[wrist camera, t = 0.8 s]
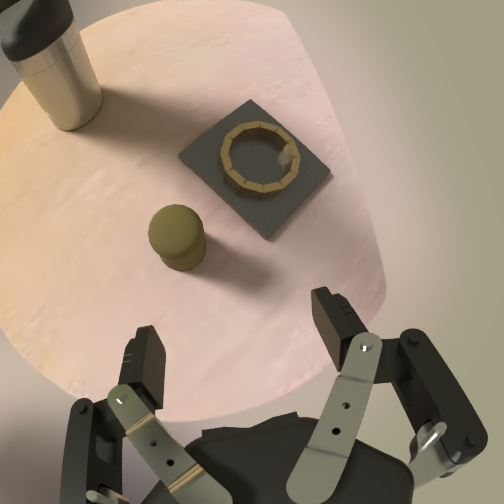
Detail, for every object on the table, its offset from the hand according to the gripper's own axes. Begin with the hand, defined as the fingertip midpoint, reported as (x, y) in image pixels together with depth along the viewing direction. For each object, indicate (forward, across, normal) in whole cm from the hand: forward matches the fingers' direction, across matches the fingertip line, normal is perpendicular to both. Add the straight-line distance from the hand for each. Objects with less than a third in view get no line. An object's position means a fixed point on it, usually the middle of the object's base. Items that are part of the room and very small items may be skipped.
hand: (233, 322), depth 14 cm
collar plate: (+28, -6, -1) cm, 29 cm away
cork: (+22, +6, +6) cm, 23 cm away
